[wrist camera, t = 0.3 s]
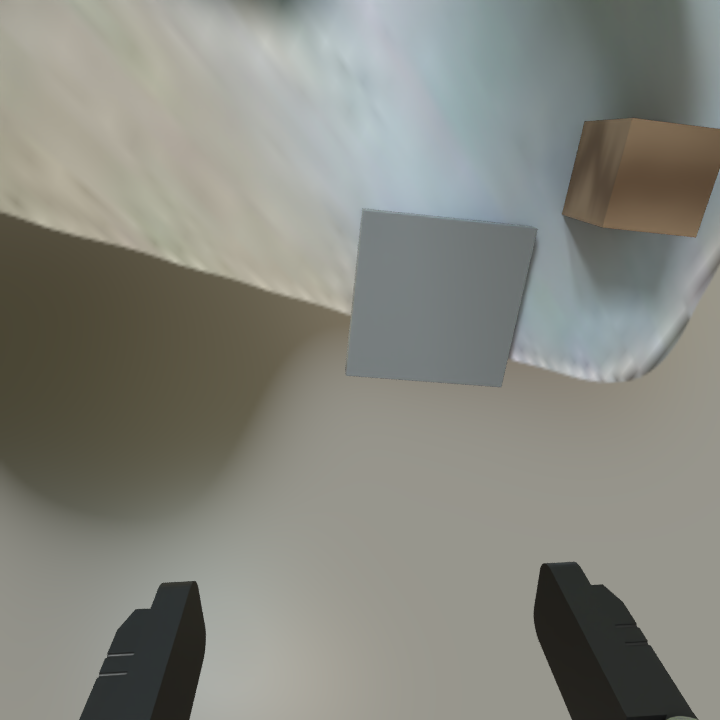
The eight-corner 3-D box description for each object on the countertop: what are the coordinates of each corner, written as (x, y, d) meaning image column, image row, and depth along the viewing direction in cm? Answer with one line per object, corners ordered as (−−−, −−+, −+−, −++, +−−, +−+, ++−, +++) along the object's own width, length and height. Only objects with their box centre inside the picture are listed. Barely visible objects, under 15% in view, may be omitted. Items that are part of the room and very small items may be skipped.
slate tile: (362, 208, 36) (363, 210, 35) (531, 226, 37) (537, 228, 36) (345, 369, 41) (345, 375, 40) (496, 380, 42) (501, 387, 41)
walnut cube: (584, 121, 35) (632, 117, 29) (669, 132, 35) (732, 130, 30) (561, 214, 37) (602, 227, 32) (641, 223, 38) (695, 237, 32)
